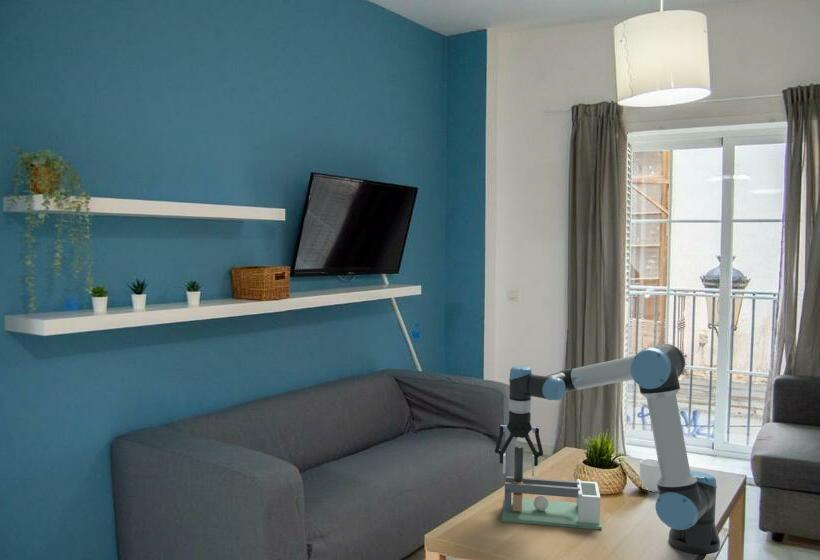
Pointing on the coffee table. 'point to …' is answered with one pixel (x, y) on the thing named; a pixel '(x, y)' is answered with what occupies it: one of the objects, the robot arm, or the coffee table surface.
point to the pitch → (555, 503)
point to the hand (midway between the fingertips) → (518, 473)
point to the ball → (540, 503)
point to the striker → (518, 477)
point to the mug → (650, 473)
